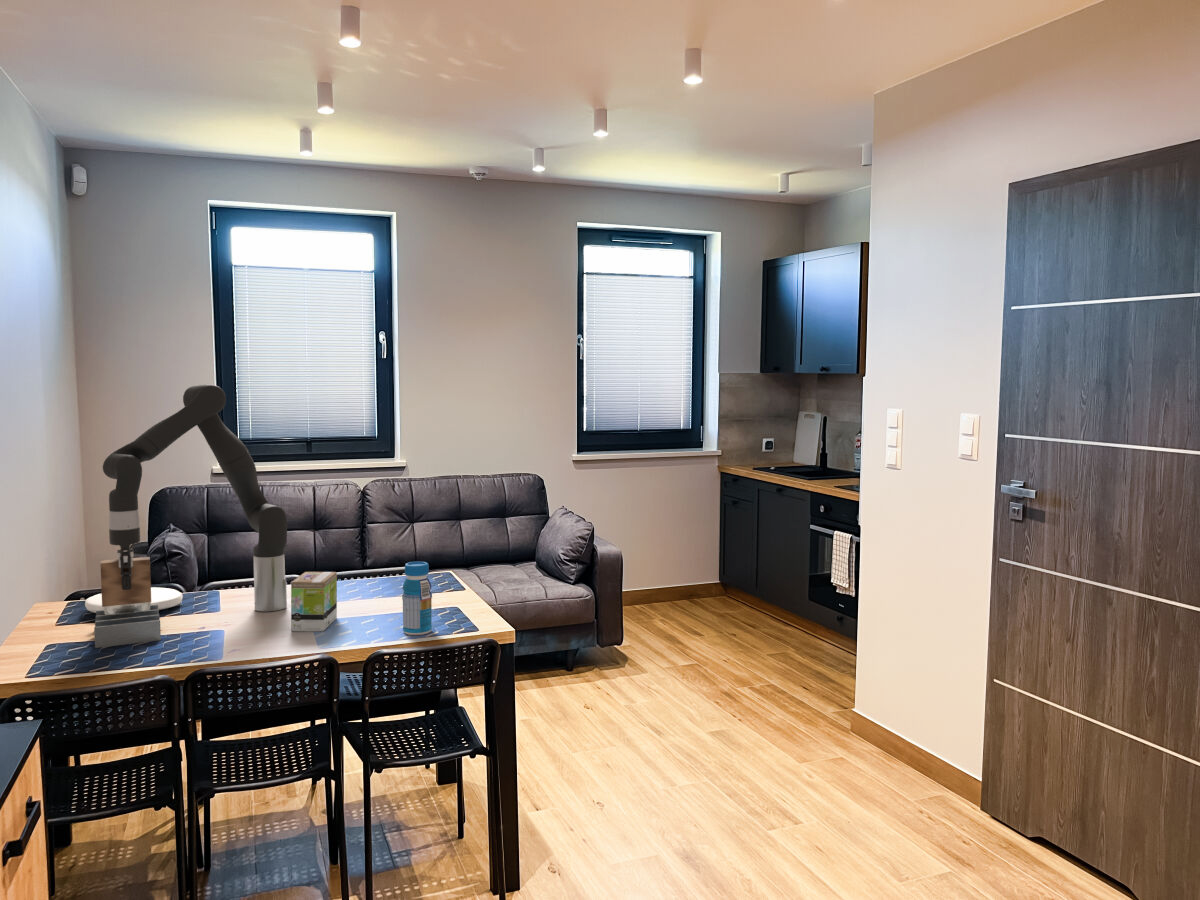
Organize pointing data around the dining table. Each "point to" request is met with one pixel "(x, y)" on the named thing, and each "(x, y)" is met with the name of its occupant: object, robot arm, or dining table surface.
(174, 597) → the plate
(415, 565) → the beverage bottle
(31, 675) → the dining table surface
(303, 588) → the tea box
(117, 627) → the dish rack
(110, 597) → the walnut board
